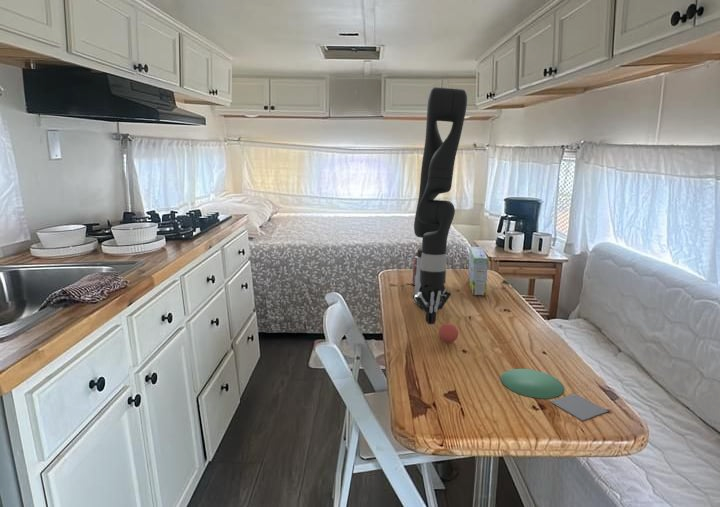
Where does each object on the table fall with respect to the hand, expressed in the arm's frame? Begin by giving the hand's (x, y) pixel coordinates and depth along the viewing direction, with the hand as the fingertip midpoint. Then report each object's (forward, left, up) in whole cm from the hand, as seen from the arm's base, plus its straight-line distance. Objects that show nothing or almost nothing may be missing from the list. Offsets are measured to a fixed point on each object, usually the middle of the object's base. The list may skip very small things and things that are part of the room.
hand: (430, 323), depth 138 cm
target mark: (+37, +3, -3) cm, 37 cm away
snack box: (-30, +44, -3) cm, 54 cm away
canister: (-42, +29, -3) cm, 51 cm away
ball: (+9, 0, 0) cm, 9 cm away
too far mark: (+49, +4, -3) cm, 49 cm away
